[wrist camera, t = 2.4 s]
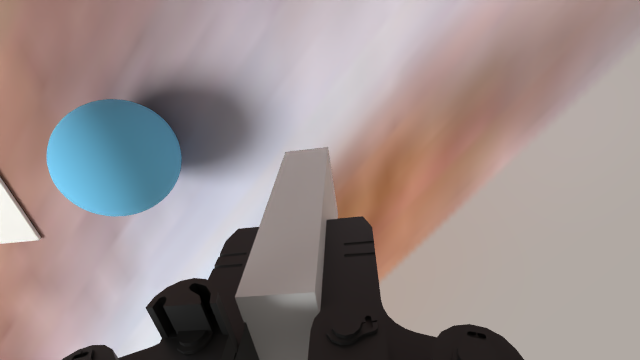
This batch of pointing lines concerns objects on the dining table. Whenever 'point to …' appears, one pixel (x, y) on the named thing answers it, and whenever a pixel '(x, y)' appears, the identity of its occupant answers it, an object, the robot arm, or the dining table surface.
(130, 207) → the ball
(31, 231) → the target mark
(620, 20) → the dining table surface
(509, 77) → the dining table surface
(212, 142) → the dining table surface
